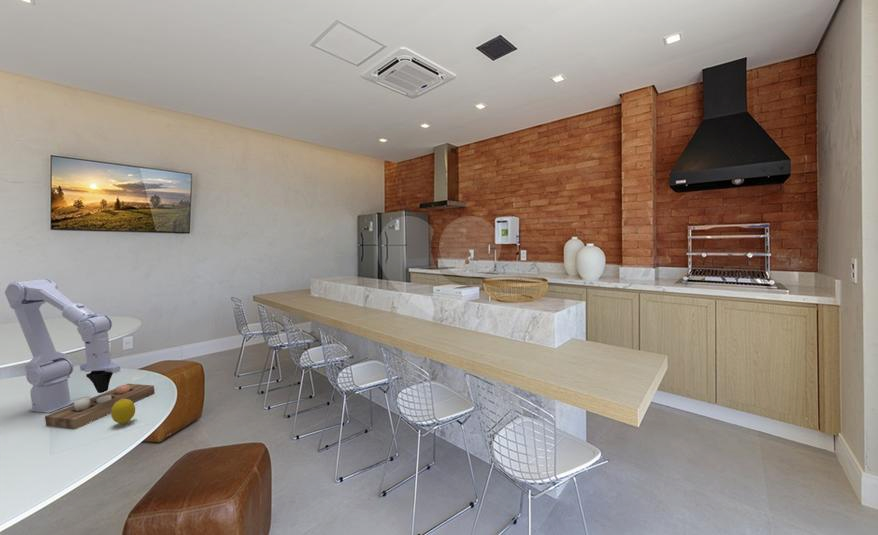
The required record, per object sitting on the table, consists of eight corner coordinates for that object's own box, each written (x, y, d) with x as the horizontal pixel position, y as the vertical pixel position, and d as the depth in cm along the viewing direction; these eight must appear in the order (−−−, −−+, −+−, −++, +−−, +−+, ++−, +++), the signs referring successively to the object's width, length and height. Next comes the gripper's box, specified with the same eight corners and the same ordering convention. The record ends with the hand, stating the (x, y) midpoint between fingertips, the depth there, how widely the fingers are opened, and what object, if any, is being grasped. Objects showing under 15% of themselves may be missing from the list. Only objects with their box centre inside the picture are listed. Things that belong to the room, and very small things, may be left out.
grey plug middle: (94, 408, 118) (93, 399, 117) (106, 403, 121) (105, 395, 121) (103, 409, 117) (101, 400, 117) (115, 404, 120) (113, 395, 120)
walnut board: (46, 425, 109) (44, 416, 108) (128, 391, 132) (128, 383, 132) (75, 429, 106) (74, 419, 106) (154, 393, 130) (153, 385, 129)
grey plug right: (71, 410, 112) (70, 401, 111) (85, 405, 115) (84, 396, 115) (80, 411, 111) (79, 402, 111) (93, 406, 114) (92, 397, 114)
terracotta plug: (114, 396, 123) (113, 388, 123) (125, 392, 127) (124, 384, 127) (122, 397, 123) (121, 389, 122) (133, 392, 126) (132, 384, 126)
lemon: (122, 429, 105) (119, 403, 104) (107, 427, 106) (104, 402, 106) (141, 419, 111) (138, 395, 110) (127, 418, 112) (124, 394, 111)
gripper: (66, 355, 115) (71, 395, 116) (101, 357, 112) (106, 398, 113) (92, 348, 122) (96, 386, 123) (125, 350, 119) (129, 389, 120)
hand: (102, 391), depth 119 cm, fingers closed
